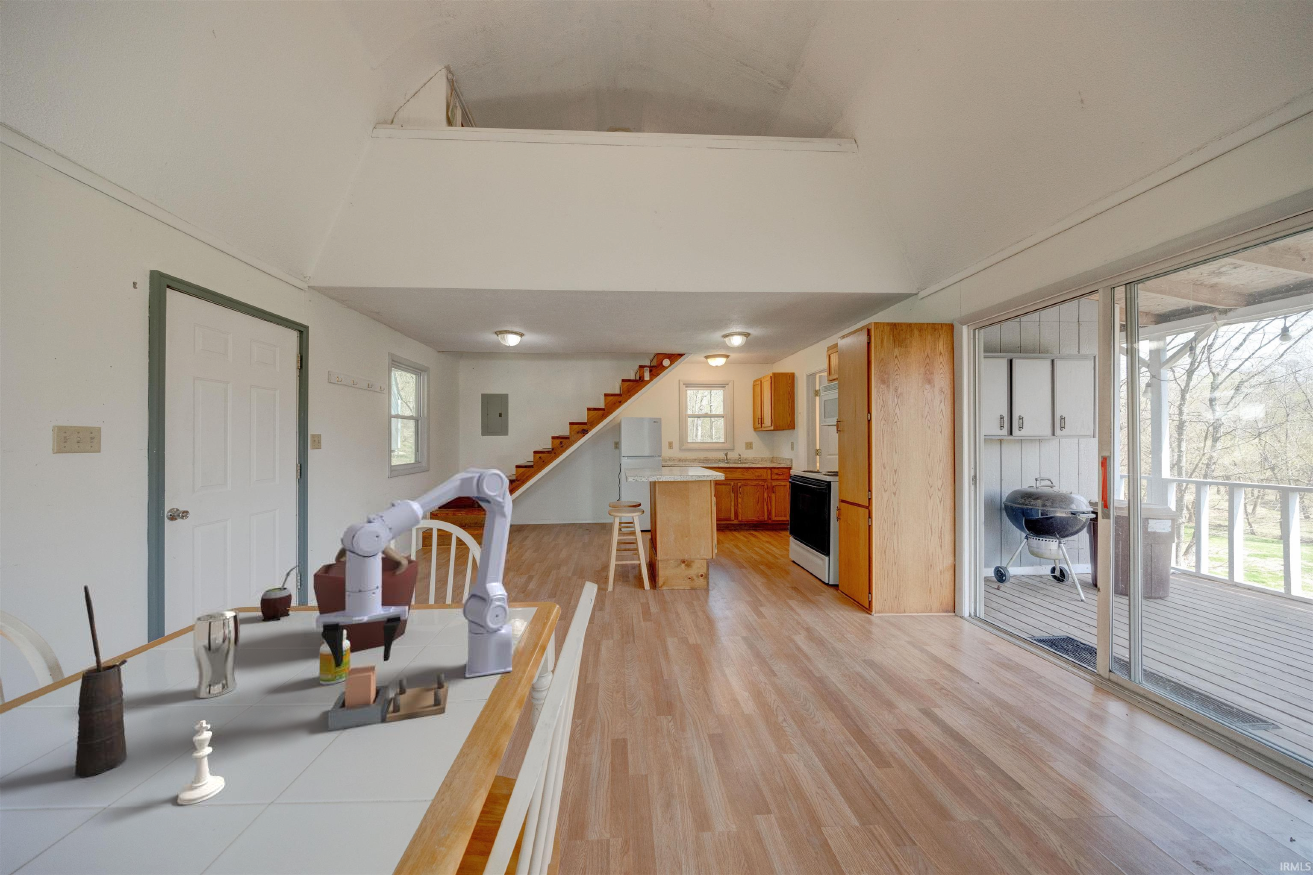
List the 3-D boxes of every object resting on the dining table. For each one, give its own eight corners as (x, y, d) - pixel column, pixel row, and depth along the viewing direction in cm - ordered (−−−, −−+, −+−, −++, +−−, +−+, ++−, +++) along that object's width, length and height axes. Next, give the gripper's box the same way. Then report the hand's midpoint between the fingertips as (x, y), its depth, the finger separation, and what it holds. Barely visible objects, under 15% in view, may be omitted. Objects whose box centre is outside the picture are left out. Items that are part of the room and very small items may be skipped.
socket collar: (389, 700, 95) (389, 684, 95) (380, 722, 87) (381, 705, 87) (341, 707, 92) (341, 691, 92) (328, 730, 85) (328, 713, 85)
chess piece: (197, 781, 72) (198, 712, 72) (233, 779, 72) (234, 710, 72) (167, 805, 67) (168, 732, 67) (205, 803, 67) (206, 730, 68)
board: (448, 688, 99) (448, 670, 100) (444, 712, 90) (445, 693, 90) (395, 696, 96) (395, 678, 96) (386, 722, 87) (386, 702, 87)
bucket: (429, 639, 125) (430, 540, 125) (328, 668, 108) (330, 555, 109) (392, 616, 141) (392, 529, 141) (299, 639, 124) (300, 540, 125)
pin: (375, 707, 92) (375, 664, 92) (370, 718, 88) (371, 674, 89) (350, 711, 91) (351, 667, 91) (345, 722, 87) (345, 677, 87)
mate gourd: (257, 618, 140) (258, 565, 140) (291, 611, 146) (291, 560, 146) (264, 624, 135) (264, 569, 135) (298, 616, 141) (299, 564, 141)
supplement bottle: (334, 686, 100) (335, 638, 100) (312, 683, 101) (313, 636, 102) (355, 674, 106) (356, 628, 106) (334, 671, 107) (335, 627, 107)
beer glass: (246, 686, 100) (247, 612, 100) (203, 702, 94) (204, 623, 94) (227, 679, 103) (228, 607, 103) (185, 694, 97) (186, 618, 97)
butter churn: (149, 736, 83) (152, 570, 83) (156, 759, 77) (159, 580, 77) (64, 763, 76) (68, 581, 76) (65, 791, 70) (68, 593, 70)
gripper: (310, 598, 84) (309, 677, 84) (404, 589, 89) (403, 665, 89) (323, 587, 91) (322, 660, 91) (409, 579, 96) (409, 649, 96)
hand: (363, 661), depth 90 cm, fingers open, 7 cm apart
